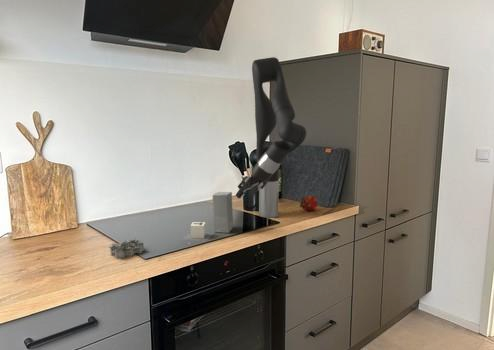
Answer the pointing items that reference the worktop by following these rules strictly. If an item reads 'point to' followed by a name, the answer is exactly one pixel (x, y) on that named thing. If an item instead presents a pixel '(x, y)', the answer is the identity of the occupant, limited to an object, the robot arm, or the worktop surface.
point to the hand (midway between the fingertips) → (244, 195)
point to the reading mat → (207, 236)
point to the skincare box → (222, 212)
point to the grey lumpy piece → (127, 248)
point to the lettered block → (198, 230)
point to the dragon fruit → (308, 203)
